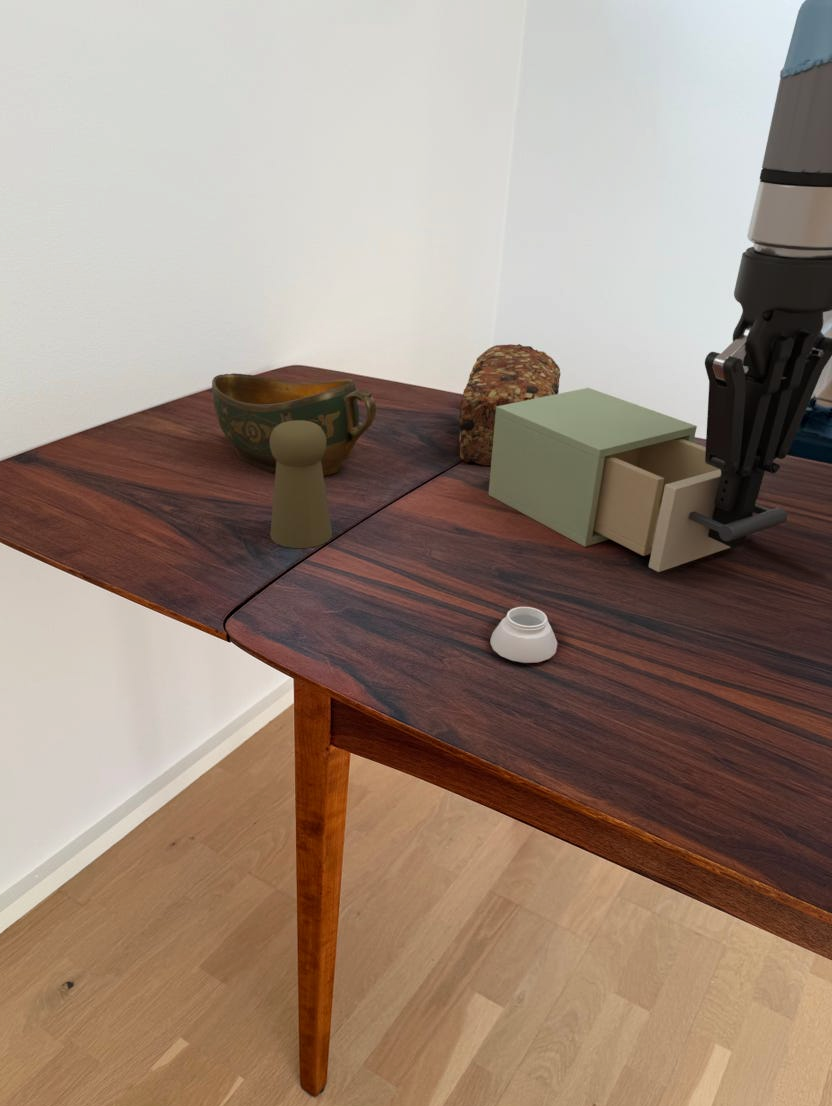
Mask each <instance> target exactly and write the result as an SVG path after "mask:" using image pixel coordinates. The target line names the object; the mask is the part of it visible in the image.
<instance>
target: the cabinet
mask: <svg viewBox="0 0 832 1106" xmlns="http://www.w3.org/2000/svg"><path fill="white" fill-rule="evenodd" d="M697 427H698V426H697V425H695V424H692V423H690V422H687V421H684V420H681V419H679V418H675V417H672V416H669V415H667V414H664V413H662V412H659V411H656V410H653V409H649V408H647V407H645V406H641V405H638V404H635V403H633V402H630V401H627V400H624V399H621V398H619V397H616V396H613V395H610V394H608V393H604V392H602V391H598V390H596V389H593V388H590V387H585V388H580V389H575V390H570V391H565V392H561V393H558V394H555V395H550V396H545V397H541V398H536V399H531V400H526V401H521V402H516V403H511V404H506V405H501V406H497V407H496V415H495V426H494V437H493V449H492V460H491V465H490V473H489V483H488V494H487V495H488V496H489V497H491V498H493V499H495V500H497V501H499V502H501V503H503V504H505V505H506V506H508V507H510V508H511V509H514V510H515V511H517V512H519V513H521V514H523V515H525V516H526V517H529V518H531V519H532V520H534V521H536V522H537V523H540V524H541V525H543V526H545V527H547V528H549V529H551V530H553V531H554V532H556V533H558V534H559V535H561V536H564V537H566V538H568V539H570V540H571V541H573V542H575V543H577V544H579V546H580V545H581V546H582V547H584V548H586V547H589V546H590V547H591V546H593V545H596V544H599V543H602V542H606V541H609V540H610V539H609V538H607V537H605V536H603V535H601V534H599V533H597V532H596V531H594V530H593V529H594V522H595V516H596V510H597V504H598V498H599V491H600V485H601V479H602V473H603V467H604V460H605V456H609V455H613V454H617V453H621V452H625V451H629V450H633V449H637V448H641V447H645V446H649V445H653V444H657V443H661V442H665V441H669V440H673V439H677V438H682V439H684V440H687V441H690V442H693V443H695V442H694V441H695V437H696V433H697V429H698V428H697Z"/></svg>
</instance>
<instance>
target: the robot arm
mask: <svg viewBox="0 0 832 1106" xmlns="http://www.w3.org/2000/svg"><path fill="white" fill-rule="evenodd" d="M746 238H747V240H748V241H749V242H751V243H753V246H751V247H748V248H746V249H745V251H744V252H742V254H741V259H740V264H739V267H738V268H739V269H738V272H737V276H736V281H735V286H734V290H733V298H734V299H735V301H737V303H739V304H740V306H741V308H742V312H741V315H740V318H739V320H738V322H737V324H736V326H735V328H734V330H733V333H732V342H731V343H730V344H729V345H728V346H727V347H726V348H725V349H724V350H723V351H722V352H721V353H720V352H716V351H710V352H709V353H708V354H707V355H706V357H705V359H704V368H705V371H706V375H707V378H708V395H707V396H708V397H707V398H708V399H707V418H706V436H705V437H706V438H705V447H706V453H705V463H706V464H708V465H711V466H713V467H716V468H718V469H720V470H721V476H720V480H719V485H718V489H717V490H718V491H717V493H716V494H717V495H716V497H715V508H714V512H713V517H712V519H713V520H715V521H717V522H719V523H722V524H724V525H726V524H729V523H732V522H735V521H738V520H741V519H744V518H747V517H750V516H753V514H754V512H753V510H754V506H755V503H757V500H758V498H759V494H760V490H761V486H762V484H763V483H762V482H763V479H764V475H765V472H766V473H770V474H772V475H773V474H776V473H777V472H779V470H780V469H781V464H778V463H776V462H774V460H776V459H779V460H784V459H785V458H786V457H787V456H788V454H789V452H790V449H791V447H792V444H793V442H794V440H795V438H796V435H797V433H798V431H799V427H800V425H801V423H802V422H803V421H802V420H803V418H804V416H805V414H806V410H807V409H808V406H809V404H810V402H811V399H812V397H813V394H814V393H815V390H816V388H817V385H818V382H819V380H820V378H821V375H822V373H823V370H824V369H825V367H826V365H827V364H828V363H829V361H830V359H831V358H832V337H828V336H825V335H824V333H822V330H823V328H824V321H825V320H824V313H828V312H831V311H832V0H804V1H803V2H802V3H801V5H800V8H799V9H798V11H797V15H796V19H795V23H794V27H793V31H792V35H791V38H790V42H789V46H788V49H787V53H786V56H785V61H784V64H783V68H782V69H781V70H780V72H779V83H778V87H777V93H776V97H775V101H774V107H773V113H772V116H771V121H770V127H769V131H768V136H767V141H766V146H765V151H764V156H763V160H762V166H761V171H760V174H759V182H758V187H757V191H756V195H755V200H754V204H753V208H752V213H751V217H750V221H749V225H748V230H747V233H746ZM708 537H710V538H712V539H714V540H716V541H719V542H721V543H723V544H725V545H727V546H729V547H731V549H735V548H737V547H740V546H743V545H745V544H746V541H747V537H748V535H746V536H743V537H740V538H737V539H734V540H731V541H723V540H722V539H721V538H720V536H719V532H717V531H715V530H712V529H709V533H708Z"/></svg>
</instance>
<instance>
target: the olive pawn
mask: <svg viewBox="0 0 832 1106" xmlns="http://www.w3.org/2000/svg"><path fill="white" fill-rule="evenodd" d="M270 449H271V452H272V455H273V457H274V458H275V459H276V460H277V462H276V473H274V475H275V476H274V486H273V497H272V498H273V499H272V511H271V521H270V534H269V536H270V539H271V541H273V542H274V543H275V544H276V545H278V546H282V547H284V548H290V549H308V548H314V547H315V548H316V547H319V546H322V545H324V544H325V543H328V541H330V540H331V539H332V537H333V530H332V529H333V528H332V523H331V516H330V510H329V503H328V496H327V490H326V483H325V479H324V477H325V476H323V471H322V464H321V458H322V457H323V456H324V453H325V449H326V436H325V433H324V431H323V430H322V428H321V427H320V426H319V425H317V424H315V423H313V422H310V421H301V420H296V421H288V422H284V423H281V424H279V425H278V426H276V427H275V428H274V430H273V431H272V433H271V436H270Z"/></svg>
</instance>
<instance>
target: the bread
mask: <svg viewBox="0 0 832 1106" xmlns="http://www.w3.org/2000/svg"><path fill="white" fill-rule="evenodd" d="M560 377H561V368H560V367H559V365H558V364H557V363H556V361H555V360H554V359H553V357H552V356H550V355H548V354H547V353H546V352H545V351H541V350H538V349H534V348H533V347H532V346H530V345H522V344H520V343H519V344H511V343H509V344H495V345H493V346H491V347H489V348H488V349H486V350H485V351H483V352H482V353H481V354H480V355H479V356H478V357H476V361H475V363H474V364H473V366H472V369H471V372H470V373H469V377H468V381H467V383H466V386H465V388H464V389H463V393H462V396H461V402H460V407H459V408H460V409H459V419H460V420H459V425H458V426H459V455H460V456H459V457H460V458H461V460H463V461H465V462H467V463H472V462H473V463H475V464H478V465H481V466H491V460H492V449H493V437H494V426H495V415H496V407H497V406H501V405H506V404H511V403H516V402H521V401H526V400H531V399H536V398H541V397H545V396H550V395H555V394H560V393H559V388H560Z"/></svg>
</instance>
